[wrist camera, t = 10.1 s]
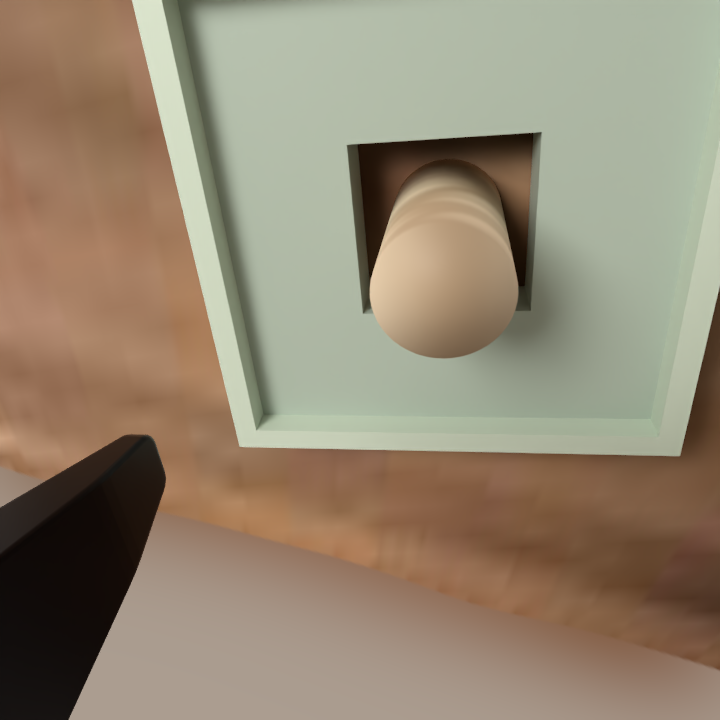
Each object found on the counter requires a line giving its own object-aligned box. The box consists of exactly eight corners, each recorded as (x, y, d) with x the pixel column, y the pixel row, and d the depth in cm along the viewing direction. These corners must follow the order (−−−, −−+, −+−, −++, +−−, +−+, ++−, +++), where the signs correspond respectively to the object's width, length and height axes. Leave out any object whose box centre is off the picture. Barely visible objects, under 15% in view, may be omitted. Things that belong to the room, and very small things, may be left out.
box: (756, -111, 15) (817, -133, 12) (655, 404, 23) (680, 456, 20) (170, -39, 17) (121, -45, 15) (261, 402, 25) (239, 446, 23)
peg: (503, 155, 19) (522, 220, 13) (500, 262, 21) (515, 358, 15) (390, 162, 20) (363, 226, 14) (396, 265, 21) (375, 358, 16)
